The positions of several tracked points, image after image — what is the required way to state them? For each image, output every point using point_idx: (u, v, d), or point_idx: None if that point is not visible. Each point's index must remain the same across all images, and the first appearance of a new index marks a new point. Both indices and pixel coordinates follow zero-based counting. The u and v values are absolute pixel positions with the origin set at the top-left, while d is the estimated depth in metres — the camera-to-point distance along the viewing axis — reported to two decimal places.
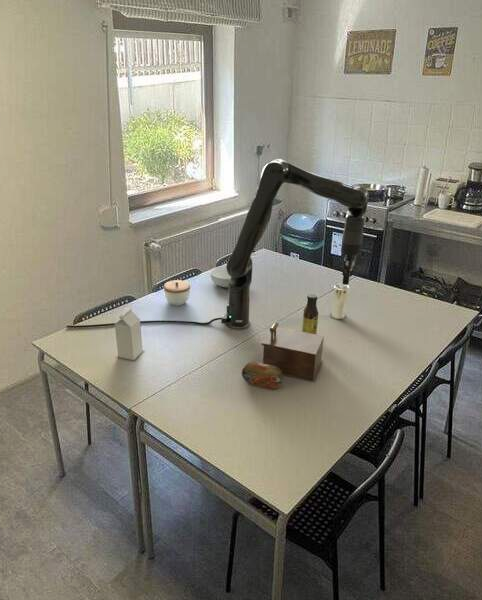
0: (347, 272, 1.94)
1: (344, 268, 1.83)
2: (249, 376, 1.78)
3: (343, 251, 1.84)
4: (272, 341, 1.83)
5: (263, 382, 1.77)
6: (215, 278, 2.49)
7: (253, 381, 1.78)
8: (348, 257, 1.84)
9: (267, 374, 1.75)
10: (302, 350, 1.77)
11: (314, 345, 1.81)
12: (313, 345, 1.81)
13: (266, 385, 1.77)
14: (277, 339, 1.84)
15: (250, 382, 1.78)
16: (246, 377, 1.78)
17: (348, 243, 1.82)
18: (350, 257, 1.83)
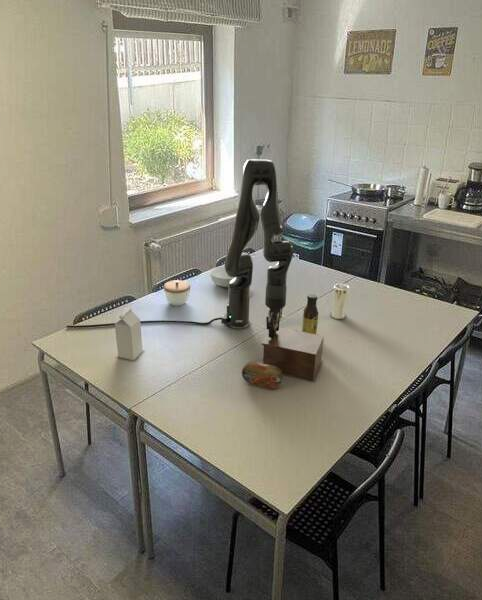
0: None
1: (267, 324, 1.79)
2: (249, 376, 1.78)
3: (266, 304, 1.79)
4: (272, 341, 1.83)
5: (263, 382, 1.77)
6: (215, 278, 2.49)
7: (253, 381, 1.78)
8: (271, 311, 1.79)
9: (267, 374, 1.75)
10: (302, 350, 1.77)
11: (314, 345, 1.81)
12: (313, 345, 1.81)
13: (266, 385, 1.77)
14: (277, 339, 1.84)
15: (250, 382, 1.78)
16: (246, 377, 1.78)
17: (270, 297, 1.76)
18: (273, 311, 1.78)
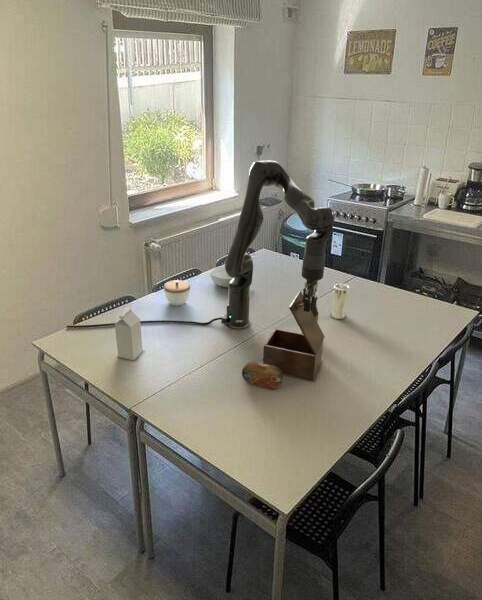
0: None
1: (304, 296, 1.69)
2: (249, 376, 1.78)
3: (303, 275, 1.69)
4: (297, 312, 1.74)
5: (263, 382, 1.77)
6: (215, 278, 2.49)
7: (253, 381, 1.78)
8: (308, 282, 1.68)
9: (267, 374, 1.75)
10: (310, 342, 1.75)
11: (318, 343, 1.80)
12: (317, 342, 1.80)
13: (266, 385, 1.77)
14: (300, 312, 1.76)
15: (250, 382, 1.78)
16: (246, 377, 1.78)
17: (308, 267, 1.66)
18: (311, 282, 1.68)
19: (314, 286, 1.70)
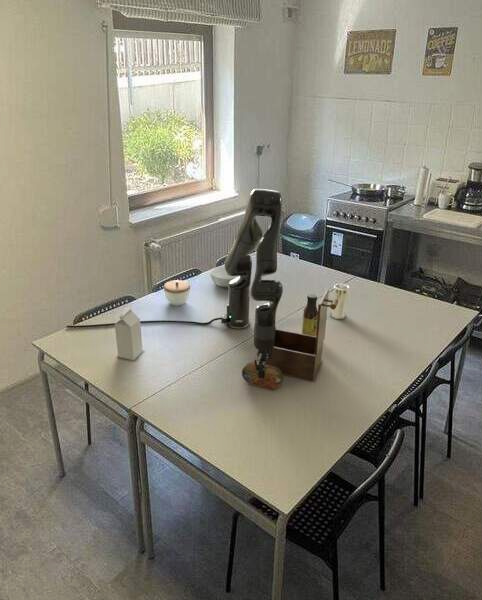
0: None
1: (256, 366, 1.69)
2: (249, 376, 1.78)
3: (255, 345, 1.69)
4: (321, 310, 1.70)
5: (263, 382, 1.76)
6: (215, 278, 2.49)
7: (253, 381, 1.78)
8: (260, 352, 1.68)
9: (267, 375, 1.75)
10: (318, 342, 1.74)
11: (320, 343, 1.80)
12: (320, 342, 1.79)
13: (266, 385, 1.76)
14: (322, 310, 1.73)
15: (250, 382, 1.78)
16: (246, 377, 1.78)
17: (259, 338, 1.66)
18: (262, 352, 1.68)
19: (266, 355, 1.70)
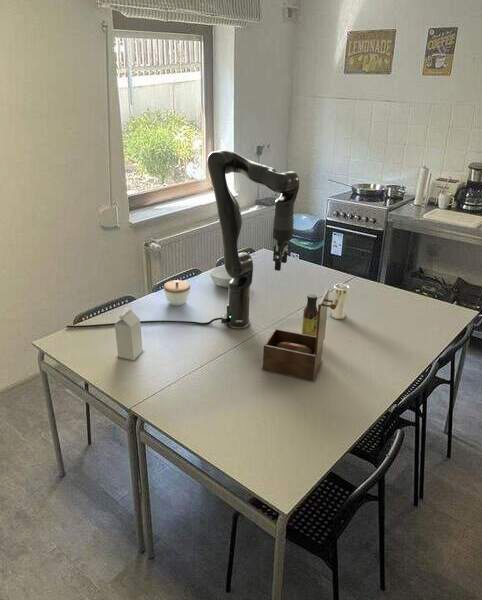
0: (281, 258, 1.94)
1: (274, 254, 1.82)
2: None
3: (274, 237, 1.84)
4: (321, 310, 1.70)
5: None
6: (215, 278, 2.49)
7: None
8: (279, 243, 1.83)
9: None
10: (318, 342, 1.74)
11: (320, 343, 1.80)
12: (320, 342, 1.79)
13: None
14: (322, 310, 1.73)
15: None
16: None
17: (278, 228, 1.81)
18: (281, 243, 1.83)
19: (284, 246, 1.85)
